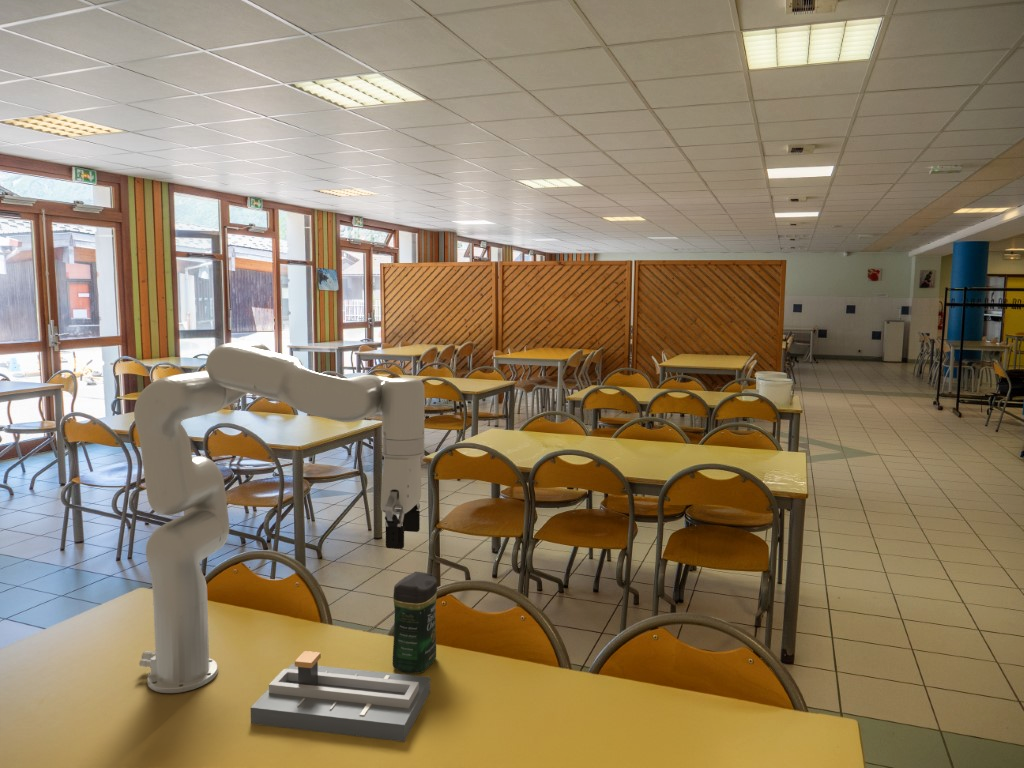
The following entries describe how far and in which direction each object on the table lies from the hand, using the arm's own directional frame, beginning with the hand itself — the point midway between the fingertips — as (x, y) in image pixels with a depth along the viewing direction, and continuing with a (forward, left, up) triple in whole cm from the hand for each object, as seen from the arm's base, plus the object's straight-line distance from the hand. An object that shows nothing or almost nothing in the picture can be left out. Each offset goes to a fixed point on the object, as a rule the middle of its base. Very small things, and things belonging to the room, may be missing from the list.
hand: (403, 539), depth 130 cm
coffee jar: (-2, +14, -31) cm, 34 cm away
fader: (-17, -4, -28) cm, 33 cm away
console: (-10, -4, -31) cm, 33 cm away
